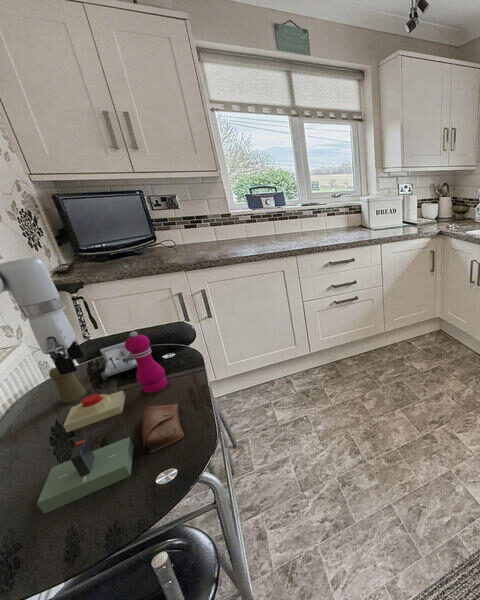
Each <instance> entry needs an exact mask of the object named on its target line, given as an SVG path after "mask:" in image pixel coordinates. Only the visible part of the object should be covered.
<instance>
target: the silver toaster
mask: <svg viewBox="0 0 480 600" xmlns="http://www.w3.org/2000/svg"><path fill="white" fill-rule="evenodd" d="M125 342H126V341H124V342H120V343H117V344H113V345H110V346H107V347H103V348H100V350H99V352H100V353H101V355H102V357H103V359H101V362H102V365H103V367H104V371H102V372H100V376H101V379H102V380H103V381H108V377H110V376H114V375H117V374H119V373H123V372H125V371H129V370H132V369H135V368H138V366H137V362H136V360H135V358H132V355H131V352H129V351H128V350H127V349H126V348H125Z"/></svg>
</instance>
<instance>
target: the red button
mask: <svg viewBox="0 0 480 600" xmlns="http://www.w3.org/2000/svg"><path fill="white" fill-rule="evenodd" d="M100 395H101V394H100V393H92V394H90V395H88V396H85V397H84V398H82V399H81V401H80V403H81V402H82V404H83V406H84V407H89V406H92V405H95V404H96V403H98V402H100V401H101V400H102V398H101V396H100Z"/></svg>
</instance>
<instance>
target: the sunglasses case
mask: <svg viewBox="0 0 480 600" xmlns="http://www.w3.org/2000/svg"><path fill="white" fill-rule="evenodd" d="M179 406H180V405H179V403H173V404H163V405H152V406H149V405H144V407H143V408H142V411H141V412H142V413H141V414H142V415H141V433H142V447H143V450H144V451H145V452H146V453H151V454H152V453H154V452H157V451H159V450H162V449H164V448H166V447H168V446H171V445H173V444H175V443H176V442H178V441H180V440H182V439H183V438H184V437H185V432H184V430H183V427H182V425H181V420H180V414H179V413H180V412H179Z"/></svg>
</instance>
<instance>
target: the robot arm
mask: <svg viewBox="0 0 480 600" xmlns="http://www.w3.org/2000/svg"><path fill="white" fill-rule="evenodd" d="M5 292H10V294H11V296H12V298H13V300H14V302H15V303H16V305H17V306H18V309H19V310H20V312H21V314H22V316H23V317H24V319H26V320H27V319H28V322H29V326H30V328H31V331H32V333H33V335H34V338H35V341H36V342H37V344H38V346H39V349H40V350H41V352H42V354H43V355H49V358H50V359H51V361H52V363H53V364H54V366H55V367H56V368H57V369H58V371H59V373H60V375H64V374H68V373H71V372H73V373H74V372H77V370H78V368H77V366H76V365H75V362H74V361H75V360H77V359H82V358H84V357H85V354H84V352H83V350H82V348H81V346H80V344H79V341H78V340H77V339H76V333H75V331H74V328H73V326H72V325H71V323H70V321H69V319H68V317H67V316H66V314H65V312H64V310H65V309H66V308H67V307H66V305H65V303H64V302H63V299H62V297H61V295H60V293H59V291H58V289H57V286H56V285H55V283H54V281H53V279H52V277H51V275H50V273H49V271H48V269H47V267H46V265H45V263H44V262H43V260H41V259H39V258H37V257H27V258H21V259H15V260H10V261H6V262H2V263H0V295H1V294H3V293H5Z"/></svg>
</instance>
